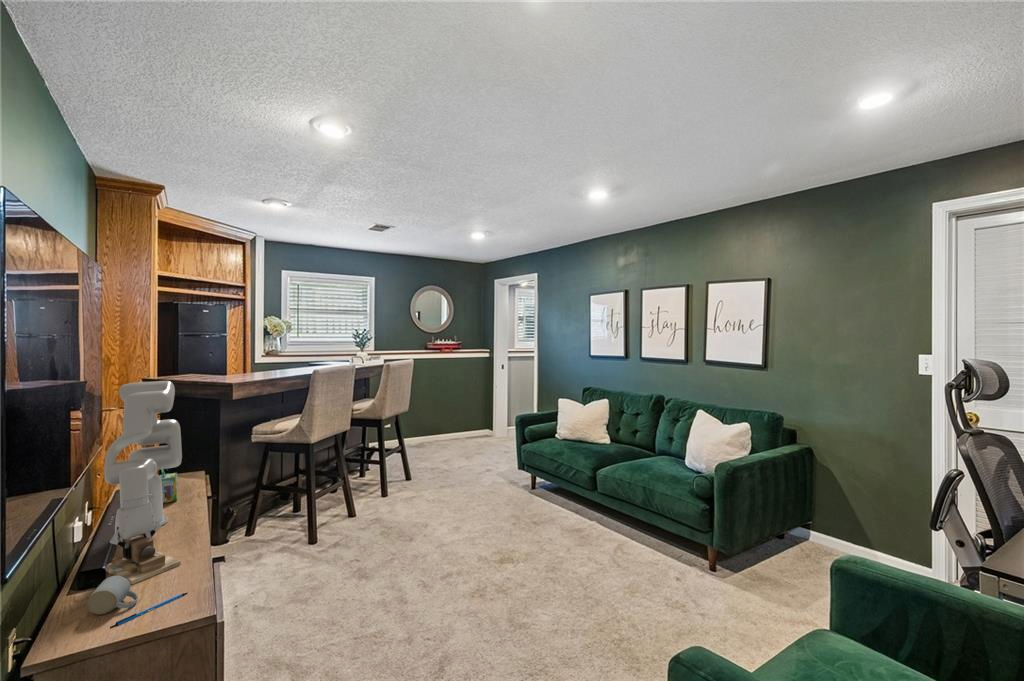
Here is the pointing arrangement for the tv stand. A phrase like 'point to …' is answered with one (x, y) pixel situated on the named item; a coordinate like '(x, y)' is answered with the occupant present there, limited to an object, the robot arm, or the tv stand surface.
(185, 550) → the tv stand surface
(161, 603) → the pen
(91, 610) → the ceramic mug
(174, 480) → the chalk box
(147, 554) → the brown wooden block
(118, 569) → the jig
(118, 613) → the tv stand surface
